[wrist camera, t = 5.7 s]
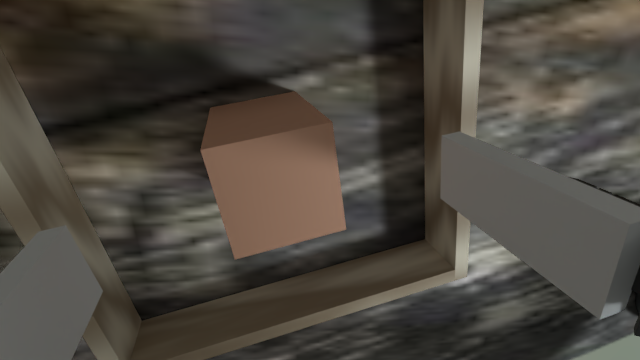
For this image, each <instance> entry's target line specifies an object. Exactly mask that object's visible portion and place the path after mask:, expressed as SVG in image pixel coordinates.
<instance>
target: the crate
mask: <svg viewBox="0 0 640 360" xmlns="http://www.w3.org/2000/svg"><path fill="white" fill-rule="evenodd" d="M483 4H484V0H423V36H424V153H425V239H424V240H420V241H417V242H413V243H410V244H406V245H403V246H399V247H396V248H392V249H389V250H385V251H382V252H379V253H375V254H372V255H368V256H365V257H361V258H358V259H354V260H351V261H347V262H344V263H340V264H337V265H333V266H330V267H326V268H323V269H320V270H316V271H313V272H309V273H306V274H302V275H299V276H295V277H292V278H288V279H285V280H281V281H278V282H274V283H271V284H268V285H264V286H261V287H257V288H254V289H250V290H247V291H243V292H240V293H236V294H233V295H229V296H226V297H222V298H219V299H215V300H212V301H209V302H205V303H202V304H198V305H195V306H191V307H188V308H184V309H181V310H177V311H174V312H170V313H167V314H163V315H160V316H156V317H153V318H150V319H146V320H143V321H142V320H141V318H140V316H139V314H138V313H137V311H136V309H135V307H134V305H133V303H132V301H131V299H130V297H129V295H128V293H127V291H126V289H125V287H124V285H123V284H122V282H121V280H120V278H119V276H118V274H117V272H116V270H115V268H114V266H113V264H112V262H111V260H110V258H109V256H108V255H107V253H106V251H105V249H104V247H103V245H102V243H101V241H100V239H99V237H98V235H97V233H96V231H95V229H94V227H93V226H92V224H91V222H90V220H89V218H88V216H87V214H86V212H85V210H84V208H83V206H82V204H81V202H80V200H79V198H78V197H77V195H76V193H75V191H74V189H73V187H72V185H71V183H70V181H69V179H68V177H67V175H66V173H65V171H64V169H63V168H62V166H61V164H60V162H59V160H58V158H57V156H56V154H55V152H54V150H53V148H52V146H51V144H50V142H49V141H48V139H47V137H46V135H45V133H44V131H43V129H42V127H41V125H40V123H39V121H38V119H37V117H36V115H35V113H34V112H33V110H32V108H31V106H30V104H29V102H28V100H27V98H26V96H25V94H24V92H23V90H22V88H21V86H20V84H19V83H18V81H17V79H16V77H15V75H14V73H13V71H12V69H11V67H10V65H9V63H8V61H7V59H6V57H5V55H4V54H3V52H2V50H1V48H0V209H1V210H2V212H3V213H4V215H5V217H6V218H7V220H8V221H9V223H10V224H11V226H12V227H13V229H14V231H15V232H16V234H17V235H18V237H19V238H20V240H21V242H22V243H23V245H24V246H26V245H27V244H28V242H29V241H30V240H31V239H32V238H33V237H34V236H35V235H36V234H37V233H38V232H39V231H43V230H47V229H52V228H56V227H60V226H64V225H66V227H67V228H68V230H69V232H70V234H71V235H72V237H73V239H74V241H75V242H76V244H77V246H78V248H79V250H80V251H81V253H82V255H83V257H84V258H85V260H86V262H87V264H88V265H89V267H90V269H91V271H92V272H93V274H94V276H95V278H96V279H97V281H98V283H99V285H100V287H101V288H102V290H103V292H102V295H101V297H100V299H99V301H98V303H97V305H96V308H95V310H94V312H93V314H92V316H91V319H90V321H89V323H88V325H87V327H86V329H85V332H84V334H83V336H82V337H83V338H84V340H85V341H86V343H87V344H88V346H89V347H90V349H91V351H92V352H93V354H94V355H95V357H96V358H97V360H205V359H208V358H212V357H215V356H218V355H221V354H224V353H227V352H231V351H234V350H237V349H240V348H243V347H246V346H249V345H253V344H256V343H259V342H262V341H265V340H268V339H272V338H275V337H278V336H281V335H284V334H287V333H291V332H294V331H297V330H300V329H303V328H306V327H310V326H313V325H316V324H319V323H322V322H325V321H329V320H332V319H335V318H338V317H341V316H344V315H347V314H351V313H354V312H357V311H360V310H363V309H366V308H370V307H373V306H376V305H379V304H382V303H385V302H389V301H392V300H395V299H398V298H401V297H404V296H408V295H411V294H414V293H417V292H420V291H423V290H427V289H430V288H433V287H436V286H439V285H442V284H445V283H449V282H452V281H455V280H458V279H461V278H464V277H467V269H468V252H469V236H470V221H469V220H468V219H467V218H465V217H464V216H463V215H462V214H460V213H459V212H458V211H456V210H455V209H454V208H452V207H451V206H450V205H448V204H447V203H446V202H444V201H443V200H442V199H441V198H440V190H441V143H442V135H447V134H451V133H455V132H459V131H460V132H462V133H464V134H467V135H469V136H471V137H474V138H475V136H476V120H477V103H478V87H479V70H480V53H481V37H482V20H483Z"/></svg>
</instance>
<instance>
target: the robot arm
mask: <svg viewBox="0 0 640 360" xmlns="http://www.w3.org/2000/svg"><path fill="white" fill-rule="evenodd" d="M440 198H441V199H442V200H443V201H444V202H446V203H447V204H448V205H450V206H451V207H452V208H454V209H455V210H456V211H458V212H459V213H460V214H462V215H463V216H464V217H465V218H467V219H468V220H469V221H471V222H472V223H473V224H475V225H476V226H477V227H479V228H480V229H481V230H483V231H484V232H485V233H486V234H488V235H489V236H490V237H492V238H493V239H494V240H496V241H497V242H498V243H500V244H501V245H502V246H504V247H505V248H506V249H507V250H509V251H510V252H511V253H513V254H514V255H515V256H517V257H518V258H519V259H521V260H522V261H523V262H525V263H526V264H527V265H529V266H530V267H531V268H532V269H534V270H535V271H536V272H538V273H539V274H540V275H542V276H543V277H544V278H546V279H547V280H548V281H550V282H551V283H552V284H553V285H555V286H556V287H557V288H559V289H560V290H561V291H563V292H564V293H565V294H567V295H568V296H569V297H571V298H572V299H573V300H574V301H576V302H577V303H578V304H580V305H581V306H582V307H584V308H585V309H586V310H588V311H589V312H590V313H592V314H593V315H594V316H595V317H597V318H598V319H599V320H600V319H603V318H605V317H608V316H611V315H613V314H616V313H618V312H621V311H624V310H625V308H626V306H627V303H628V300H629V297H630V295H631V292H632V291H634V292H635V293H637V296H636V307H637V310H638V312H639V313H640V204H637V203H635V202H632V201H630V200H628V199H625V198H623V197H620V196H618V195H612V193H611V192H608V191H606V190H603V189H601V188H599V189H597V187H596V186H594V185H591V184H589V183H586V182H584V181H581V180H579V179H575V178H571V177H567V176H565V175H562V174H560V173H558V172H555V171H553V170H550V169H548V168H546V167H543V166H541V165H538V164H536V163H534V162H531V161H529V160H526V159H524V158H522V157H519V156H517V155H514V154H512V153H510V152H507V151H505V150H503V149H500V148H498V147H495V146H493V145H491V144H488V143H486V142H483V141H481V140H479V139H476V138H474V137H471V136H469V135H467V134H464V133H462V132H460V131H459V132H455V133H451V134H447V135H442V143H441V190H440ZM102 292H103V290H102V288H101V287H100V285H99V283H98V281H97V279H96V278H95V276H94V274H93V272H92V271H91V269H90V267H89V265H88V264H87V262H86V260H85V258H84V257H83V255H82V253H81V251H80V250H79V248H78V246H77V244H76V242H75V241H74V239H73V237H72V235H71V234H70V232H69V230H68V228H67V227H66V225H64V226H60V227H56V228H52V229H47V230H43V231H39V232H38V233H37V234H36V235H35V236H34V237H33V238H32V239H31V240H30V241H29V242H28V244H27V245H26V246H25V247H24V248H23V249H22V250H21V251H20V252H19V253H18V254H17V256H16V257H15V258H14V259H13V260H12V261H11V262H10V263H9V264H8V265H7V266H6V267H5V269H4V270H3V271H2V272H1V273H0V360H72V358H73V356H74V353H75V351H76V349H77V347H78V345H79V342H80V340H81V338H82V336H83V334H84V332H85V329H86V327H87V325H88V323H89V321H90V319H91V316H92V314H93V312H94V310H95V308H96V305H97V303H98V301H99V299H100V297H101V295H102ZM634 335H636V336H640V314H639V316H638V319H637V321H636V324H635V327H634Z"/></svg>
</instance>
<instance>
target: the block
mask: <svg viewBox="0 0 640 360" xmlns="http://www.w3.org/2000/svg"><path fill="white" fill-rule="evenodd" d="M201 154H202V157H203V160H204V163H205V166H206V169H207V172H208V176H209V179H210V182H211V185H212V188H213V191H214V195H215V198H216V201H217V204H218V207H219V210H220V214H221V217H222V220H223V223H224V226H225V229H226V233H227V236H228V239H229V242H230V245H231V248H232V252H233V255H234V258H235V259H239V258H243V257H247V256H250V255H254V254H258V253H261V252H265V251H269V250H272V249H276V248H280V247H283V246H287V245H291V244H294V243H298V242H302V241H305V240H309V239H313V238H317V237H320V236H324V235H328V234H331V233H335V232H339V231H342V230H346V224H345V216H344V209H343V201H342V193H341V185H340V178H339V170H338V162H337V155H336V147H335V139H334V132H333V124H332V121H330V120H329V119H328V118H327V117H326V116H324V115H323V114H322V113H321V112H319V111H318V110H317V109H316V108H315V107H313V106H312V105H311V104H310V103H308V102H307V101H306V100H305V99H304V98H302V97H301V96H300V95H299V94H297V93H296V92H295V91H294V92H289V93H283V94H278V95H273V96H268V97H263V98H257V99H252V100H247V101H242V102H237V103H232V104H226V105H221V106H216V107H211V108H210V111H209V115H208V119H207V124H206V128H205V132H204V137H203V141H202V145H201Z"/></svg>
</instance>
